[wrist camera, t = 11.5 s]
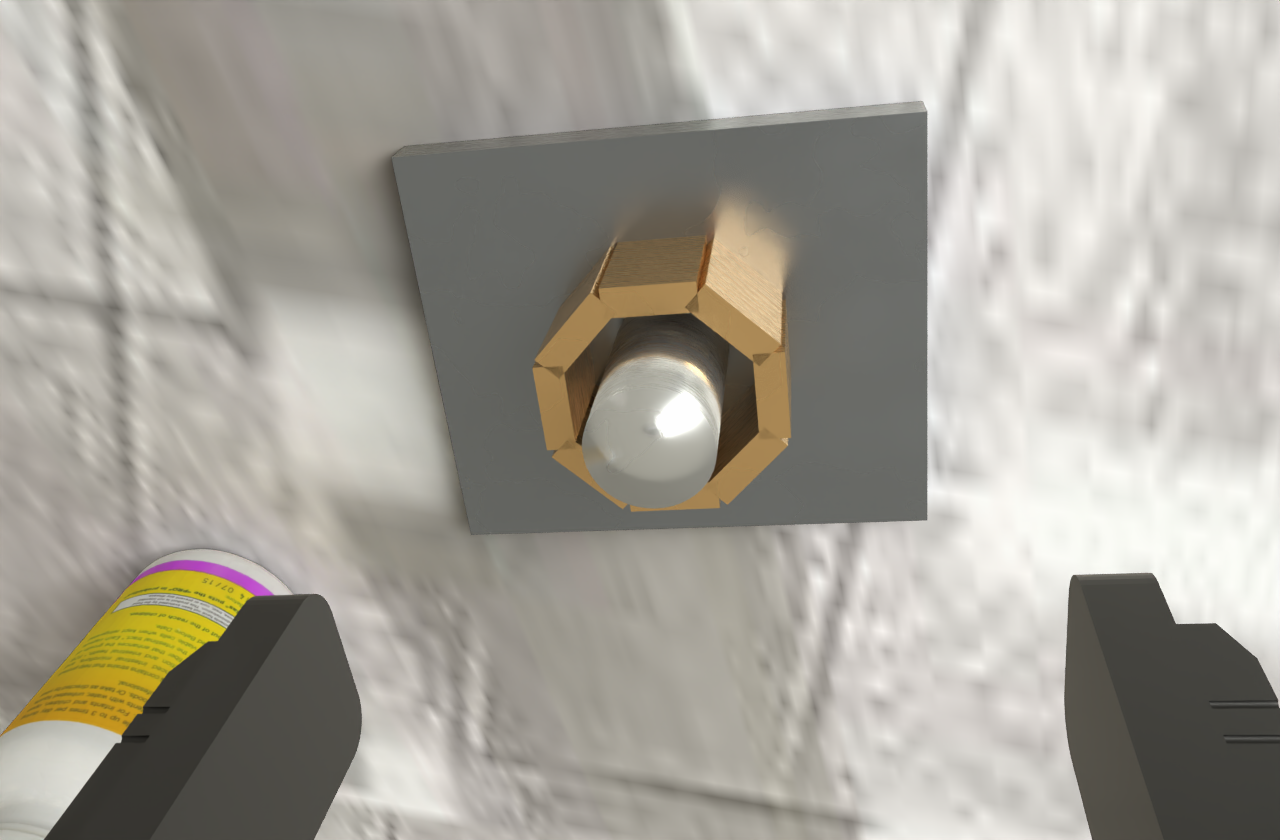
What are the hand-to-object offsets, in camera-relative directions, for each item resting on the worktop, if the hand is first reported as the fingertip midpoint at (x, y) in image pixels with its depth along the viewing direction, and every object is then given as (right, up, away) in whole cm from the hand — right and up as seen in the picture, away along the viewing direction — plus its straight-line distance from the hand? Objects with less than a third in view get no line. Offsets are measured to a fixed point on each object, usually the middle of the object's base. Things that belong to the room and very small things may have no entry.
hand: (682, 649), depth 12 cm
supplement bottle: (-15, -5, +28) cm, 32 cm away
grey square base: (+1, +5, +21) cm, 22 cm away
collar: (+1, +4, +20) cm, 20 cm away
